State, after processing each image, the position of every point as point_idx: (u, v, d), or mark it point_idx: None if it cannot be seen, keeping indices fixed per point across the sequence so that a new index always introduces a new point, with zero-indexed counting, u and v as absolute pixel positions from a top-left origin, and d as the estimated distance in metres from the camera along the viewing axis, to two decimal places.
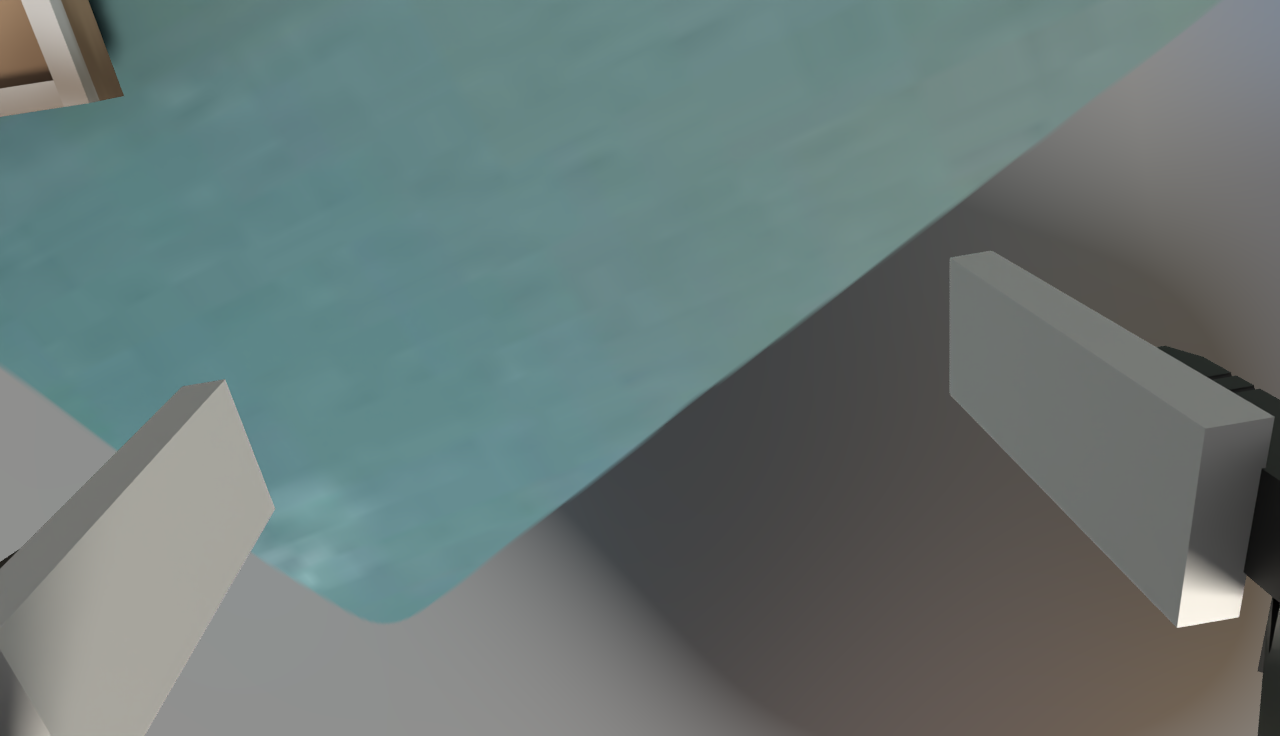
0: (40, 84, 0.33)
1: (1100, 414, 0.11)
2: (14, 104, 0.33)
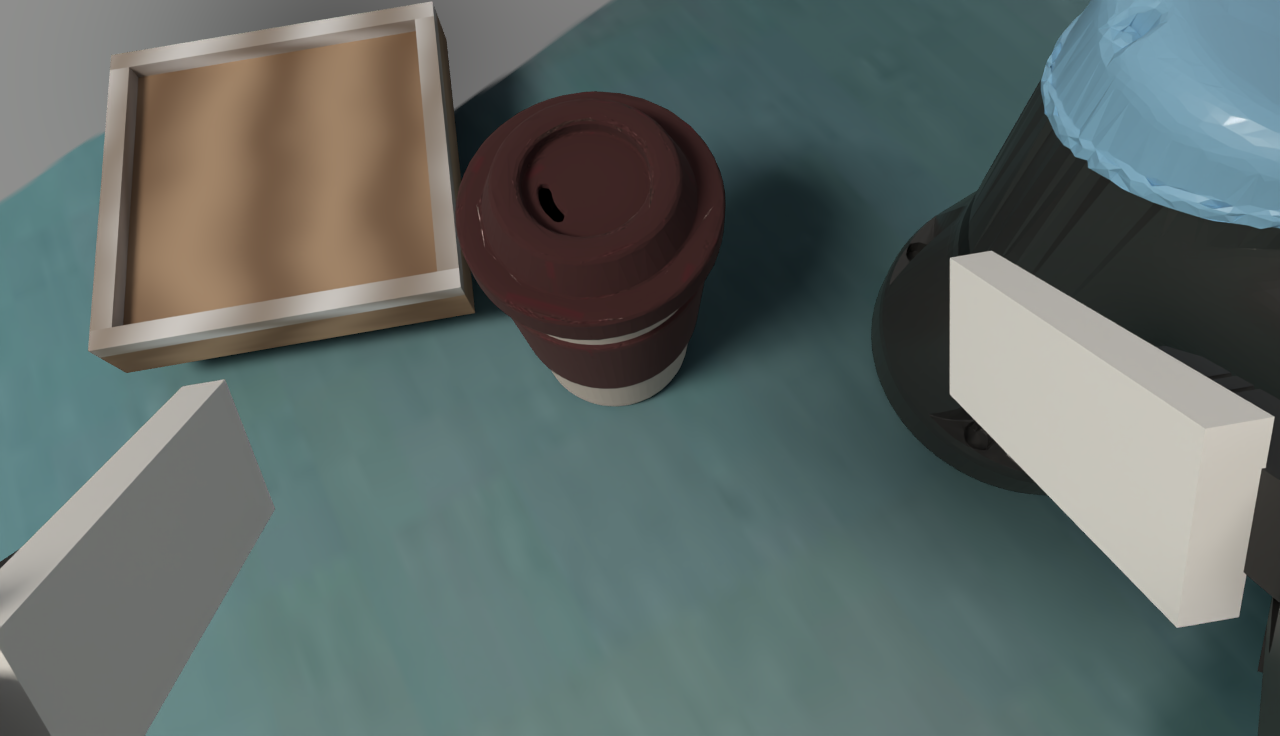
0: (110, 317, 0.39)
1: (1100, 414, 0.11)
2: (99, 294, 0.39)
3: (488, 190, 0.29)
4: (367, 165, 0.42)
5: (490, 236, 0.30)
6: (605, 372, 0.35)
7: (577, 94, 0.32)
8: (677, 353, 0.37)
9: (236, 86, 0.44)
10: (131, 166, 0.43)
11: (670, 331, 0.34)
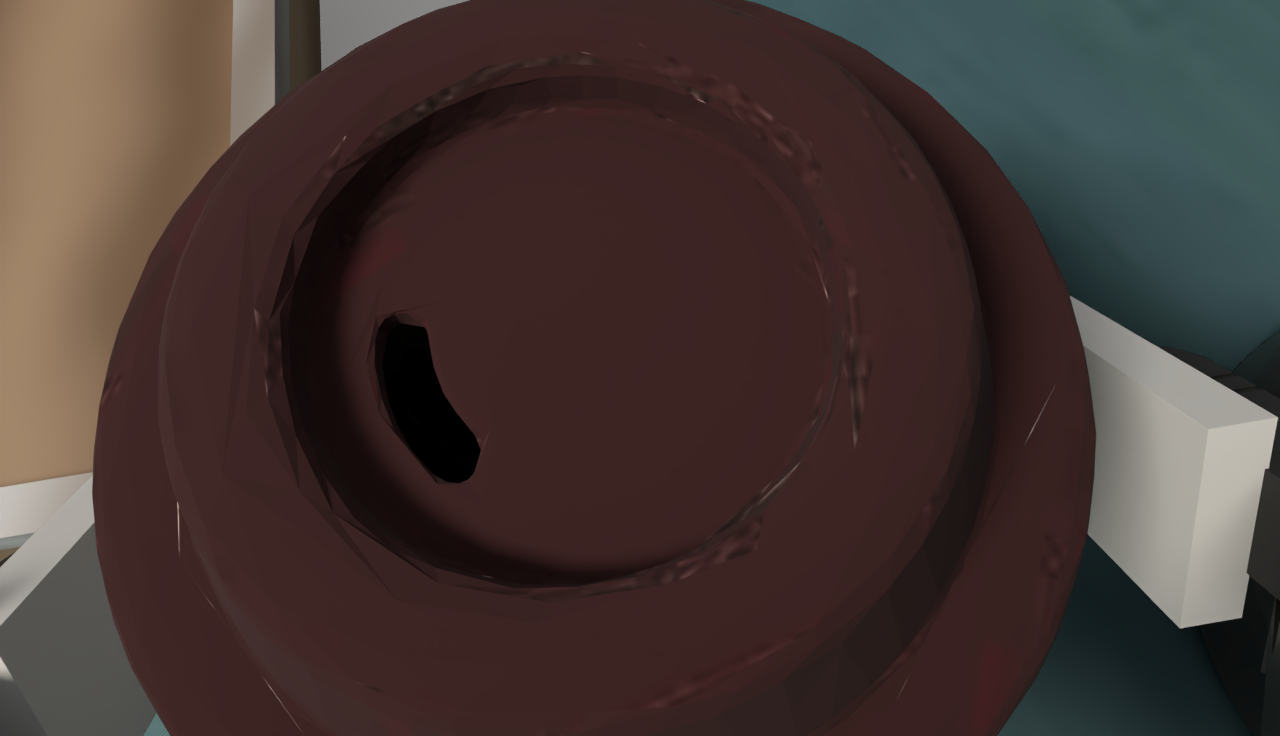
0: None
1: (1102, 414, 0.11)
2: None
3: (160, 350, 0.07)
4: (110, 189, 0.19)
5: None
6: None
7: None
8: None
9: None
10: None
11: None
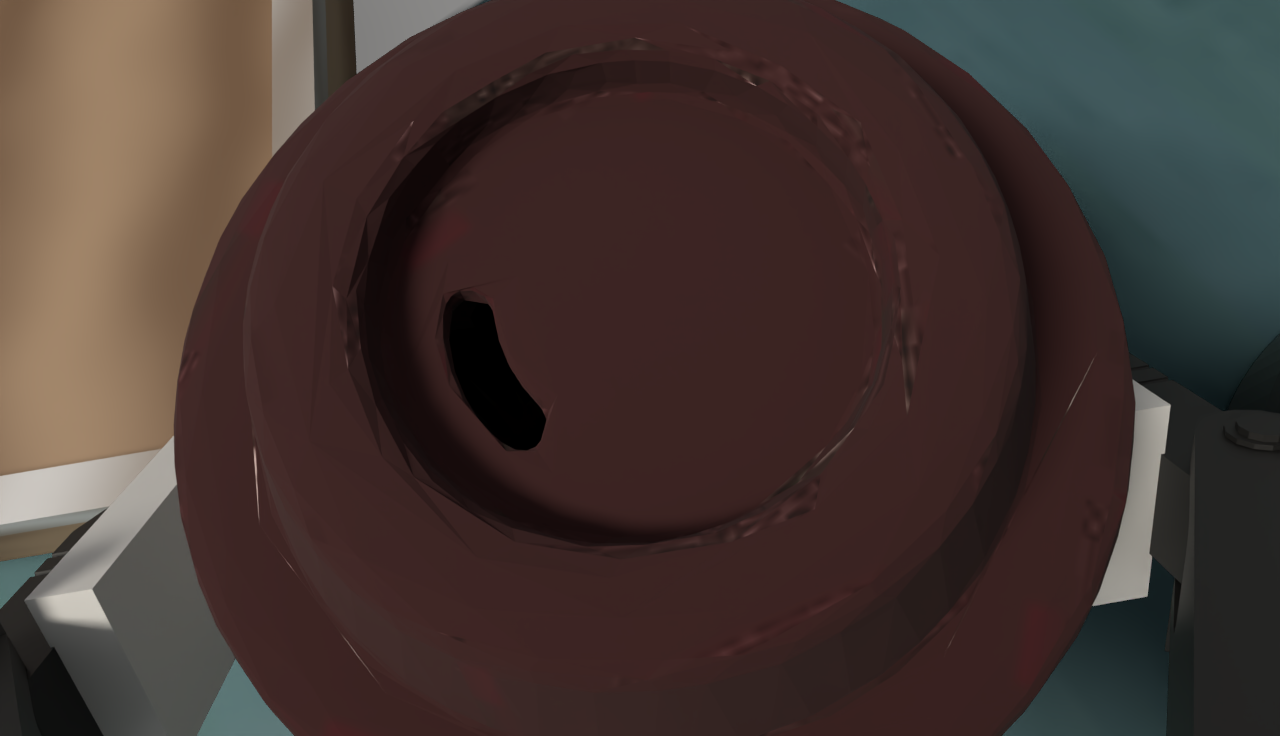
0: None
1: None
2: None
3: (244, 326, 0.07)
4: (156, 178, 0.20)
5: (270, 489, 0.08)
6: None
7: None
8: None
9: None
10: None
11: None
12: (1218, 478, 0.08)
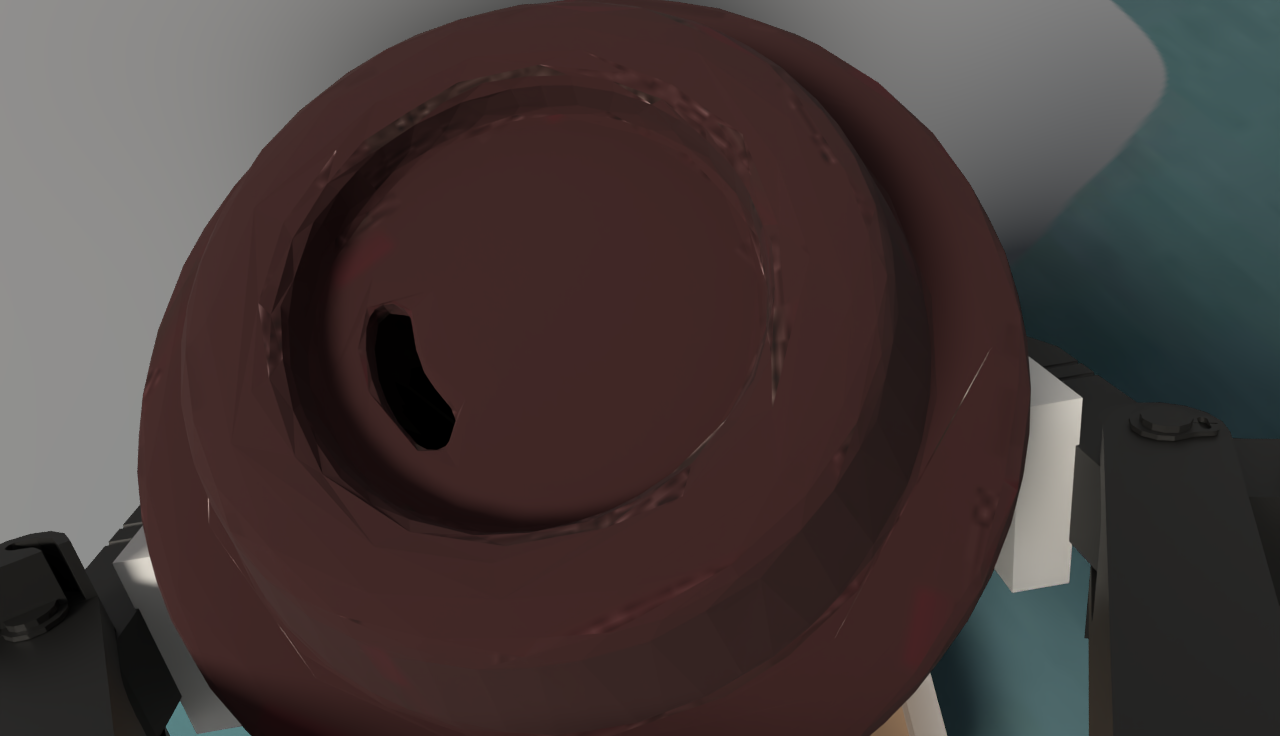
0: None
1: None
2: None
3: (182, 342, 0.08)
4: None
5: None
6: None
7: None
8: None
9: None
10: None
11: None
12: (1126, 469, 0.09)
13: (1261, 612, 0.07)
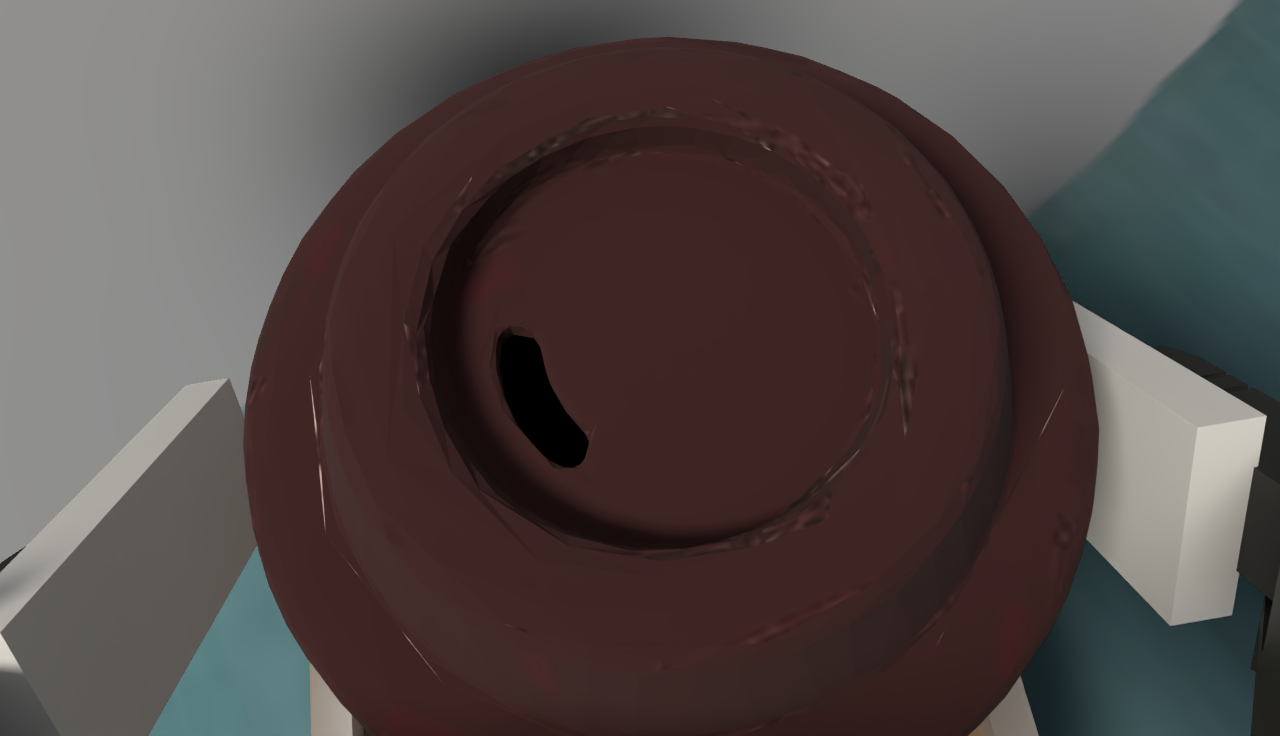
0: None
1: None
2: None
3: (323, 357, 0.08)
4: None
5: (338, 502, 0.09)
6: None
7: (615, 44, 0.12)
8: None
9: None
10: None
11: None
12: None
13: None
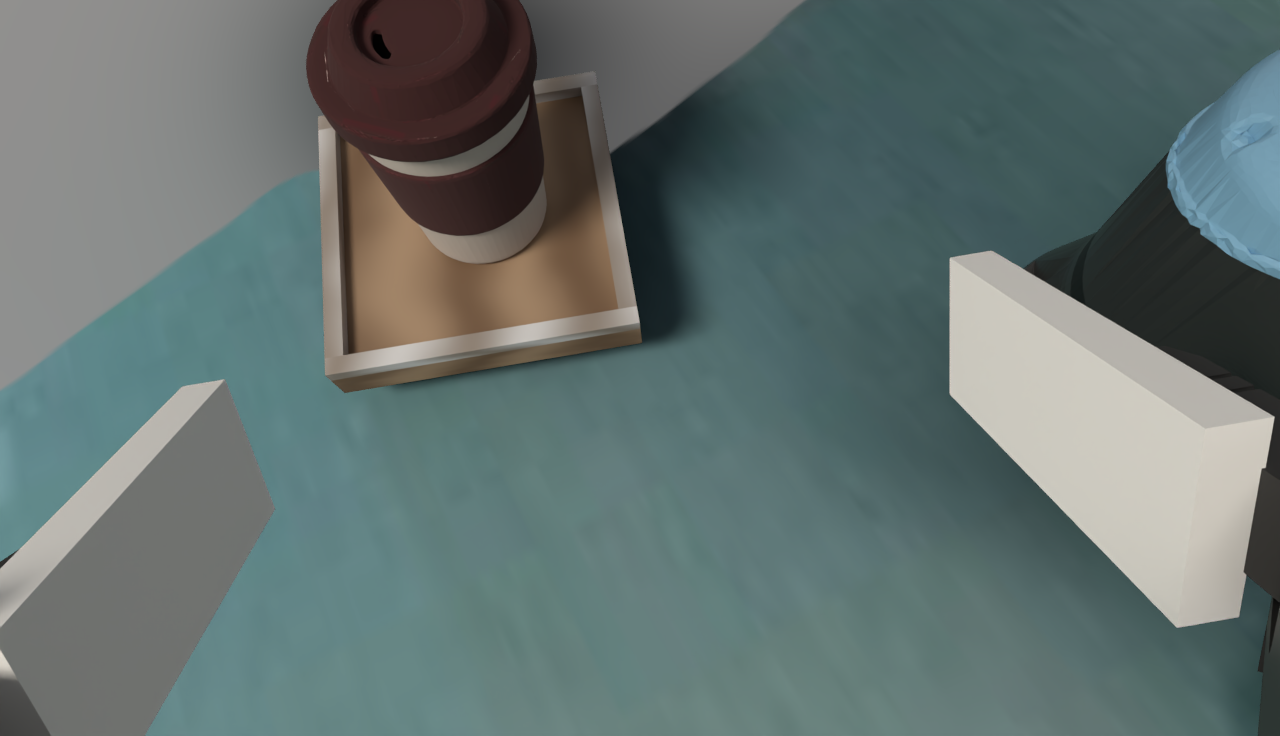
0: (341, 346, 0.46)
1: (1101, 414, 0.11)
2: (330, 327, 0.46)
3: (327, 32, 0.35)
4: (546, 214, 0.49)
5: (331, 73, 0.36)
6: (450, 212, 0.41)
7: None
8: (520, 203, 0.43)
9: None
10: (341, 214, 0.49)
11: (499, 169, 0.39)
12: None
13: None
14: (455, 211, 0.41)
